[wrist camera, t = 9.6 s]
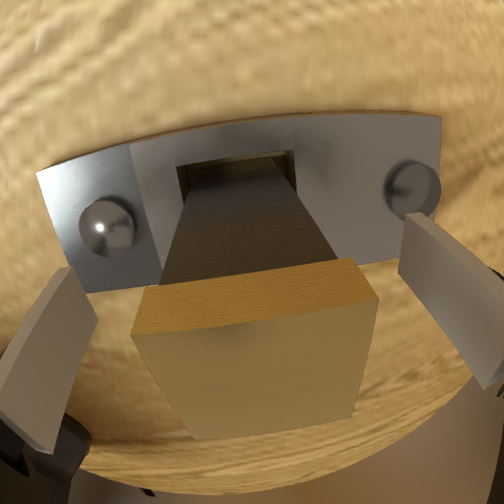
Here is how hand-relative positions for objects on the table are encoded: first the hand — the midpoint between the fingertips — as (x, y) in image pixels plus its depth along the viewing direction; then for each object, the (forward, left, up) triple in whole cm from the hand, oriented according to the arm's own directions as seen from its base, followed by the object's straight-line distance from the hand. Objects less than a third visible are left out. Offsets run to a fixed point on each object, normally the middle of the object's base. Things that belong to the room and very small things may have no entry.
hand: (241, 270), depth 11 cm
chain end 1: (-4, 0, -8) cm, 9 cm away
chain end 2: (+4, 0, -8) cm, 9 cm away
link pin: (0, 0, -8) cm, 8 cm away
